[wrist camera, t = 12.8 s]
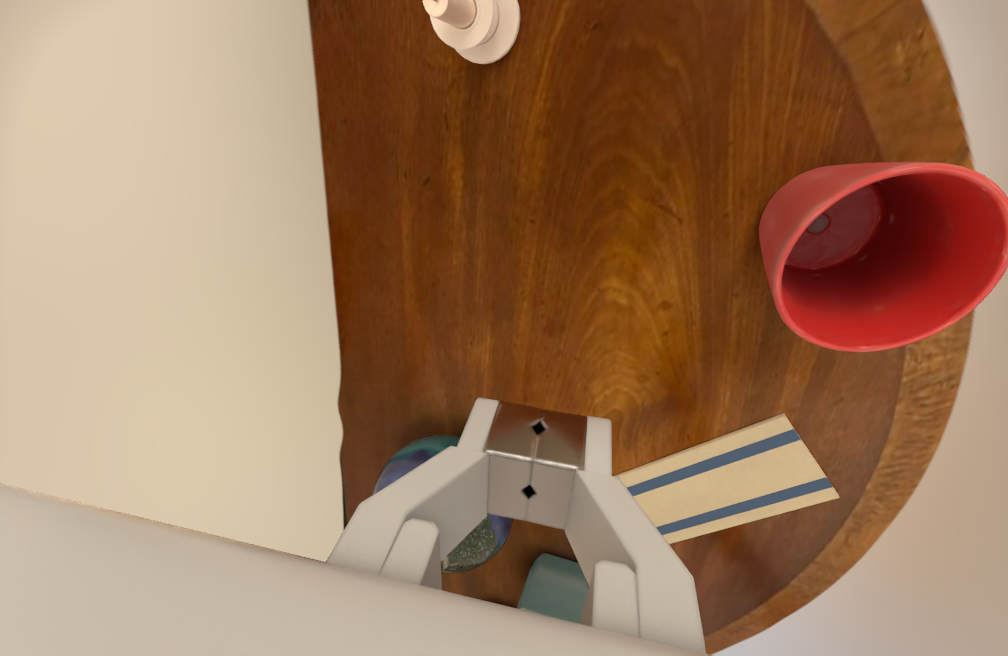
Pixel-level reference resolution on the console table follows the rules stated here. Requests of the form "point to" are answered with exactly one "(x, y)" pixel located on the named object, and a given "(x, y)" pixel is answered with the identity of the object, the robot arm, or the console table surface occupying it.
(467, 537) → the vase
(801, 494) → the cloth
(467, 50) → the candle
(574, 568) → the flower pot
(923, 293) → the flower pot
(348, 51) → the console table surface
